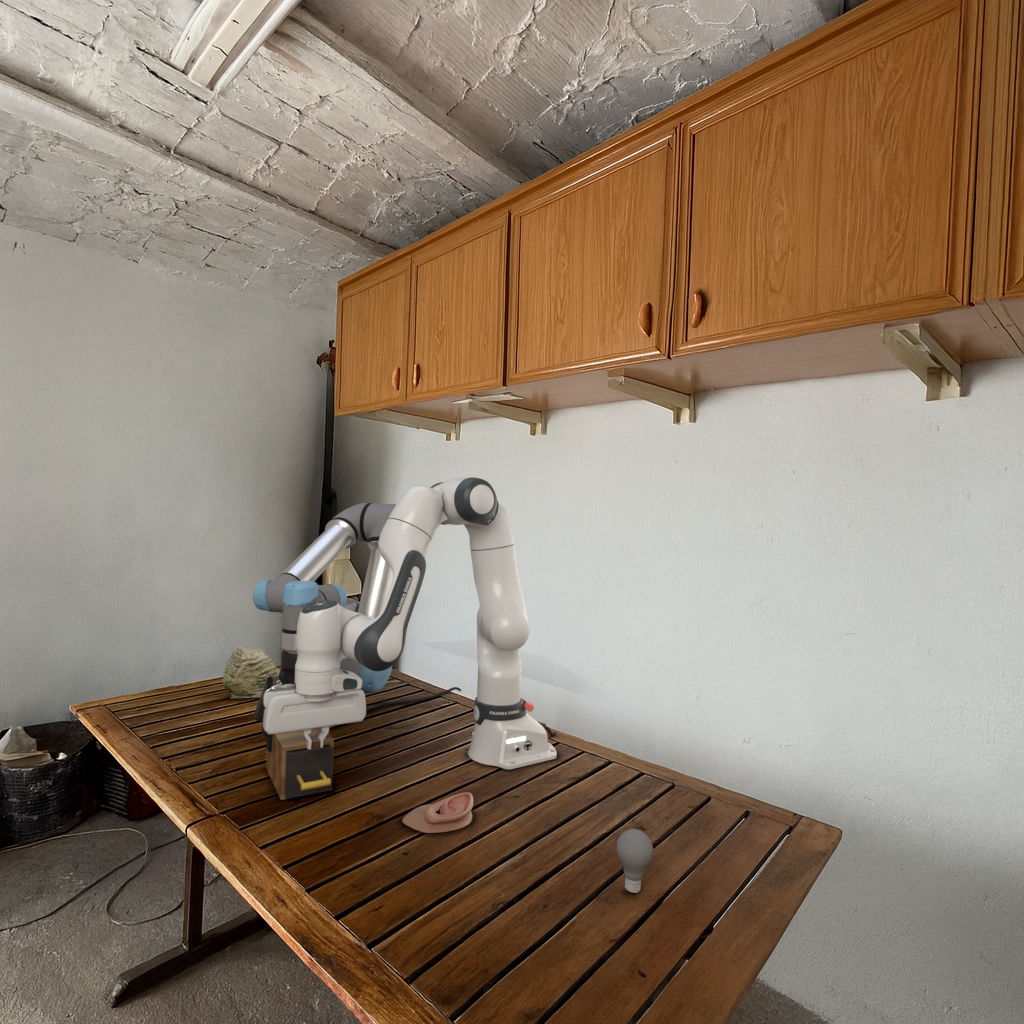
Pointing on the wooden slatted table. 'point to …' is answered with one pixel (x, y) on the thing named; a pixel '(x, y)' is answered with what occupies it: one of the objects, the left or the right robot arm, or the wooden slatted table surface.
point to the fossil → (248, 672)
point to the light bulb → (634, 857)
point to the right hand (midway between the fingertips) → (314, 747)
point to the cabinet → (278, 754)
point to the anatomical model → (442, 814)
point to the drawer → (308, 771)
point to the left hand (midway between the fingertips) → (295, 745)
